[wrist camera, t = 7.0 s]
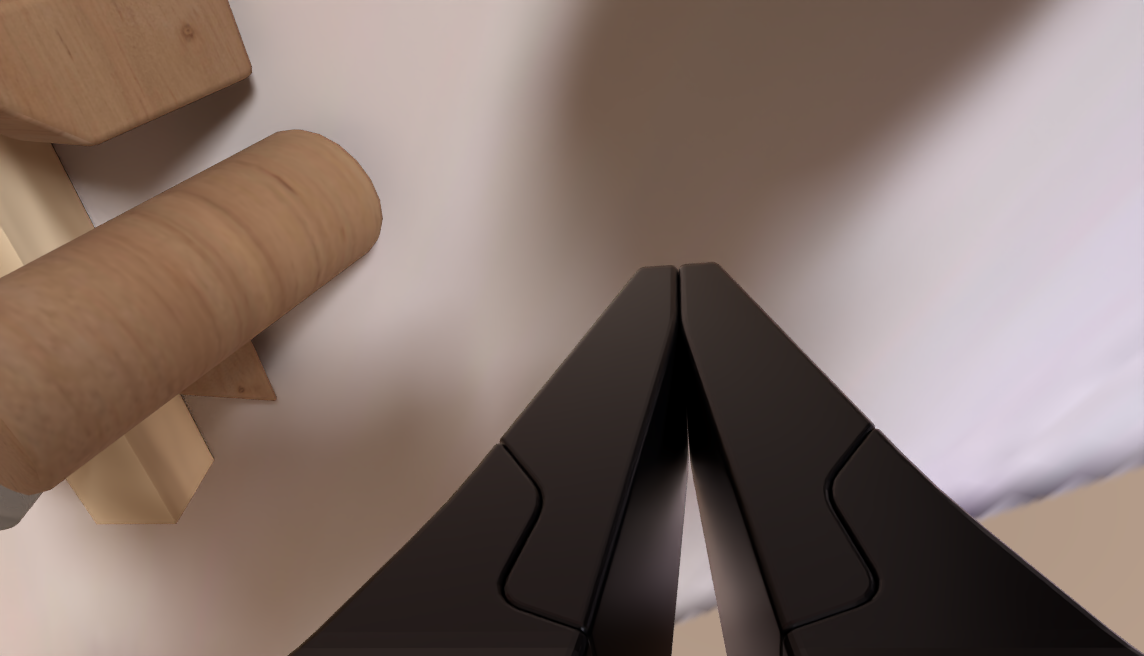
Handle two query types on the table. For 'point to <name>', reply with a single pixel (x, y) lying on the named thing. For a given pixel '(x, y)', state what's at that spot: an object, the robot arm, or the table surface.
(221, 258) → the wooden block set
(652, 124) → the table surface
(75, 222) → the maple stop rail
